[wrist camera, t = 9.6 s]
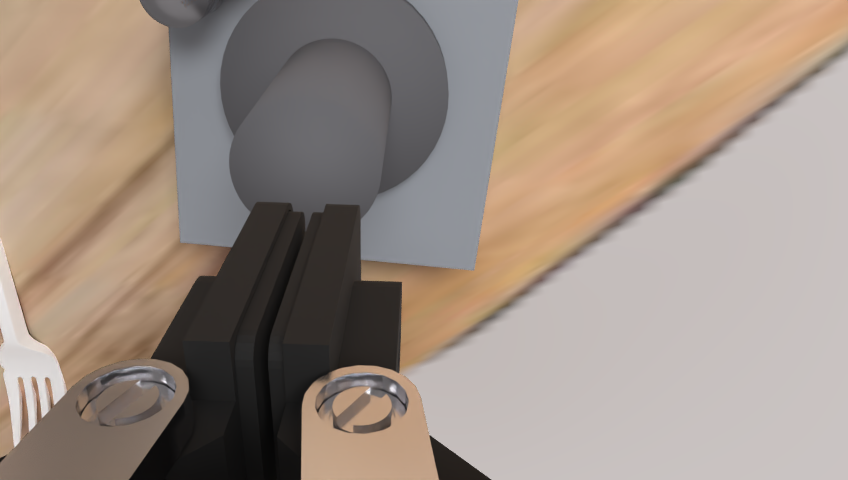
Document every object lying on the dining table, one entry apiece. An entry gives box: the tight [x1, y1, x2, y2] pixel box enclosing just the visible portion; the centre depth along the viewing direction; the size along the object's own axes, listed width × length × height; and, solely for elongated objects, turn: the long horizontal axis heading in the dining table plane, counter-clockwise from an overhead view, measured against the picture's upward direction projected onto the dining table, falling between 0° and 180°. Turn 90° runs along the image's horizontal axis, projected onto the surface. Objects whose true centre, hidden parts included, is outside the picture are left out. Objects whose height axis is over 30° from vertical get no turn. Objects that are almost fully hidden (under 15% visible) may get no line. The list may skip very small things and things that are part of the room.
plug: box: [220, 0, 449, 230], centre depth 24 cm, size 8×8×12 cm
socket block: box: [169, 0, 518, 270], centre depth 28 cm, size 12×14×4 cm
